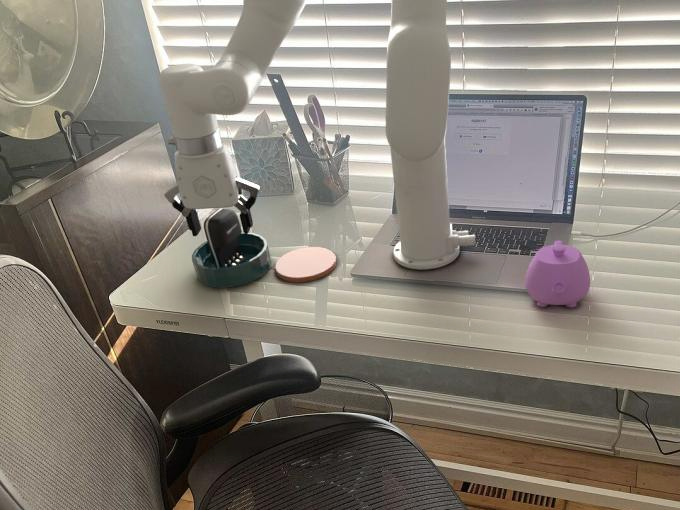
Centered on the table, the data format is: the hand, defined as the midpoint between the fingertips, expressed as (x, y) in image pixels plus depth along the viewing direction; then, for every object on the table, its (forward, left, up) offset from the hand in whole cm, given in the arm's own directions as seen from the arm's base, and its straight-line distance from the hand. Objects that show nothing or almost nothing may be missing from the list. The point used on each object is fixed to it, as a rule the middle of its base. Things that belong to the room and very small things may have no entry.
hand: (222, 231), depth 128 cm
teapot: (-59, +16, -9) cm, 62 cm away
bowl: (0, 0, -8) cm, 8 cm away
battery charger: (0, 0, -8) cm, 8 cm away
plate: (-14, 0, -8) cm, 17 cm away
